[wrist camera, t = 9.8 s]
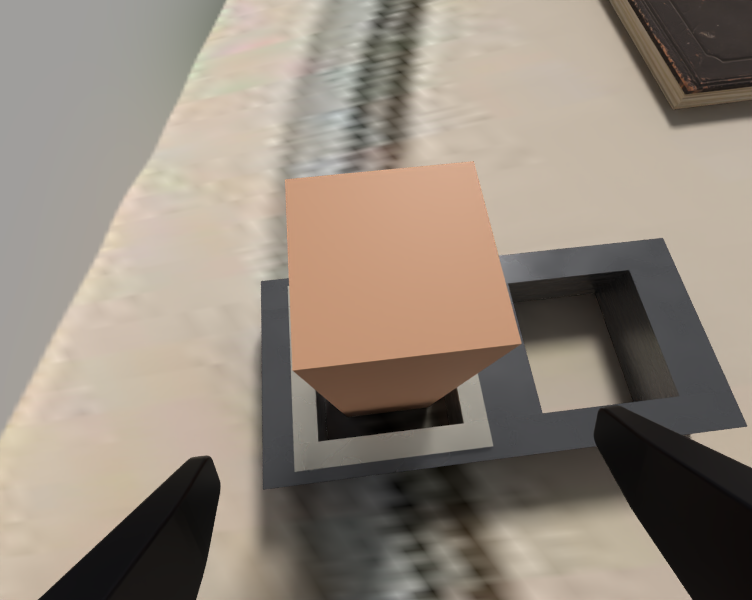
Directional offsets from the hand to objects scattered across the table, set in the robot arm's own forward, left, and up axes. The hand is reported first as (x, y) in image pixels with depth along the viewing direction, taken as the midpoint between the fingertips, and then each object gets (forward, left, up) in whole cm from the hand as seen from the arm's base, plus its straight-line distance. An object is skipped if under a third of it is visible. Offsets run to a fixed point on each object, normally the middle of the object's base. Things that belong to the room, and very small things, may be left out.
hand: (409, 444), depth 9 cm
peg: (+1, +3, -10) cm, 11 cm away
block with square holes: (+6, +1, -10) cm, 12 cm away
